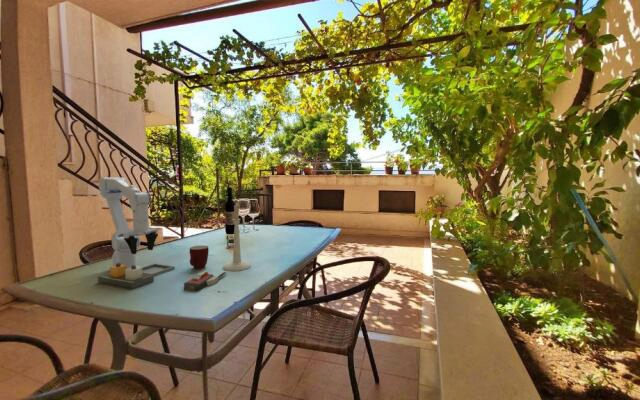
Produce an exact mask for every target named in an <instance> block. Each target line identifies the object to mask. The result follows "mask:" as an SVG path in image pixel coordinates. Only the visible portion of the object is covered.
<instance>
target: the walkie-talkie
mask: <svg viewBox="0 0 640 400" xmlns="http://www.w3.org/2000/svg"><path fill="white" fill-rule="evenodd" d="M225 274H226V271H223V272H221V274H219V275H217V276H214V275H213V274H211V273H208V272H207V271H200V272H199V273H197V274H196V275H195V276H193V277H192V278H191V279H189V280H187V281H186V282H183V289H184V290H186V291H188V290H189V291H200V290H201V289H203V288H205V287H207V286H212V285H214V284H216V283H217V282H219V279H221V278H222V277H223V276H224V275H225Z"/></svg>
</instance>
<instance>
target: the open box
mask: <svg viewBox="0 0 640 400" xmlns="http://www.w3.org/2000/svg"><path fill="white" fill-rule="evenodd" d="M154 277H155V276H153V275H147V274H142V277H141V278H138V279H136V280H127V279H126V276H125V275H123V276H119V277H111V276H110V272H109V273H106V274H102V275H98V277H97V279H98V280H97V282H98V283H99V284H104V285H108V286H109V285H110V286H114V287H119V288H124V289H129V290H134V289H137V288H141V287H143V286H145V285H148V284H151V283H154V281H155V278H154Z"/></svg>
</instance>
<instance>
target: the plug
mask: <svg viewBox="0 0 640 400" xmlns="http://www.w3.org/2000/svg"><path fill="white" fill-rule="evenodd" d="M126 269H127V265H121V263H116V266H113V265H112V266H109V273H110V276H111V277H119V276H123V275H125V270H126Z"/></svg>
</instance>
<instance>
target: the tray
mask: <svg viewBox="0 0 640 400" xmlns="http://www.w3.org/2000/svg"><path fill="white" fill-rule="evenodd" d="M141 268H142V274H147V275H153V276H154V277H156V276H159V275H162V274H164V273H167V272H170V271H173V270H175V269H176V268H175V265H168V264H161V263H152V264H149V265H146V266H143V267H142V266H141Z"/></svg>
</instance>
